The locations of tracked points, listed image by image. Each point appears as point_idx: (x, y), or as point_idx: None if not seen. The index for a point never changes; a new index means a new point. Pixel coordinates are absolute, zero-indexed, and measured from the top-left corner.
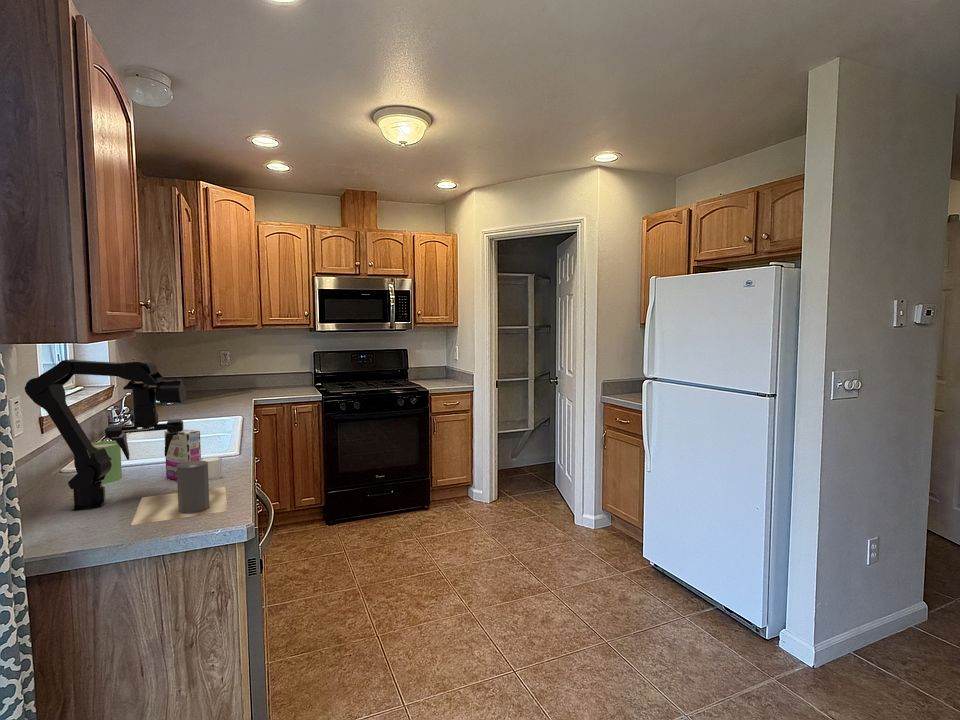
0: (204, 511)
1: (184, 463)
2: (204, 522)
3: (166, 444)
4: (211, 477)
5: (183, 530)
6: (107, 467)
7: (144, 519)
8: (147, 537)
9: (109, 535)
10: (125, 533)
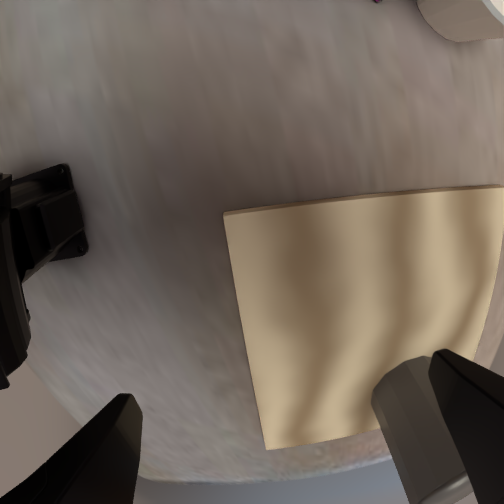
0: None
1: (446, 492)
2: None
3: (478, 475)
4: (467, 40)
5: (367, 452)
6: (2, 283)
7: (291, 430)
8: (307, 469)
9: (230, 455)
10: (260, 454)
